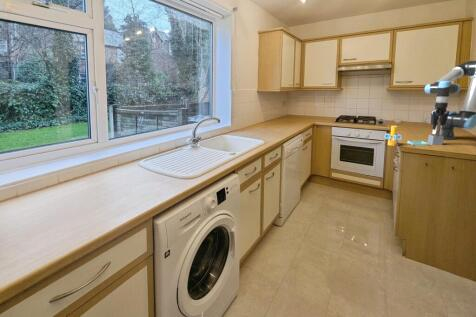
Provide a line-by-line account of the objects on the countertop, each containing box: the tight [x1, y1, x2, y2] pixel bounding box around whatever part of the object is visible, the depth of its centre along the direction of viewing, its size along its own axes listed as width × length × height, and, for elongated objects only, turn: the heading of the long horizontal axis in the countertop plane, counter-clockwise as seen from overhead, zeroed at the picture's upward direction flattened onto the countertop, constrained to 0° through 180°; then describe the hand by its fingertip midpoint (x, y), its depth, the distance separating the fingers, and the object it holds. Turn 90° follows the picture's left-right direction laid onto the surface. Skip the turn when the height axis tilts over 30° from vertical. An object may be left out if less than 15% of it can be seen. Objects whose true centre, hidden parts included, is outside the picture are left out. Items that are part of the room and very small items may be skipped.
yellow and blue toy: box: [384, 125, 403, 147], centre depth 213 cm, size 12×10×15 cm
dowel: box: [433, 122, 441, 136], centre depth 210 cm, size 3×3×17 cm
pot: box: [427, 134, 444, 146], centre depth 212 cm, size 7×7×8 cm
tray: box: [406, 140, 430, 147], centre depth 213 cm, size 11×10×2 cm
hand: (436, 133), depth 211 cm, fingers closed on dowel, 3 cm apart
